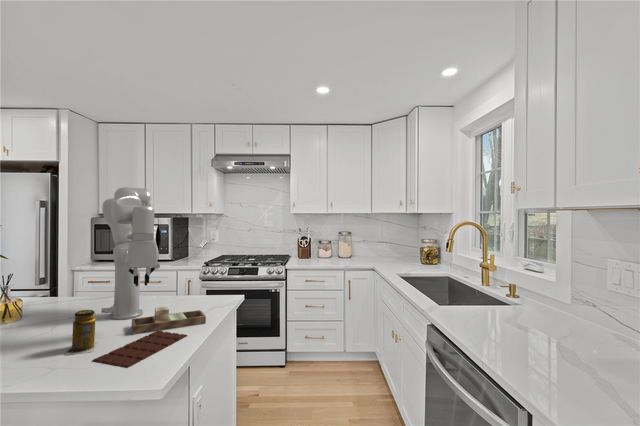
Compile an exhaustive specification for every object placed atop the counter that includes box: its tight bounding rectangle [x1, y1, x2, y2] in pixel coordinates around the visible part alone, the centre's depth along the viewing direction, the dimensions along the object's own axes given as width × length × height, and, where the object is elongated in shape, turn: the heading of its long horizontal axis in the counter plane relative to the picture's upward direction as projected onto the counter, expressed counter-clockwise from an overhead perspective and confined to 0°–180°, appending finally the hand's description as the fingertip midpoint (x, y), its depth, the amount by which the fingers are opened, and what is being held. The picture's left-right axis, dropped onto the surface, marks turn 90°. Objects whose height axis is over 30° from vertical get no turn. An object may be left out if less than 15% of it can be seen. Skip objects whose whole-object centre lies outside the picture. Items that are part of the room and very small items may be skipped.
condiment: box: [65, 309, 98, 355], centre depth 107 cm, size 7×8×12 cm
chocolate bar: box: [91, 330, 188, 369], centre depth 110 cm, size 27×14×1 cm, turn 165°
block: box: [154, 306, 170, 321], centre depth 130 cm, size 4×4×4 cm
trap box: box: [131, 309, 207, 335], centre depth 132 cm, size 26×10×3 cm, turn 123°
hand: (141, 284), depth 126 cm, fingers open, 2 cm apart
